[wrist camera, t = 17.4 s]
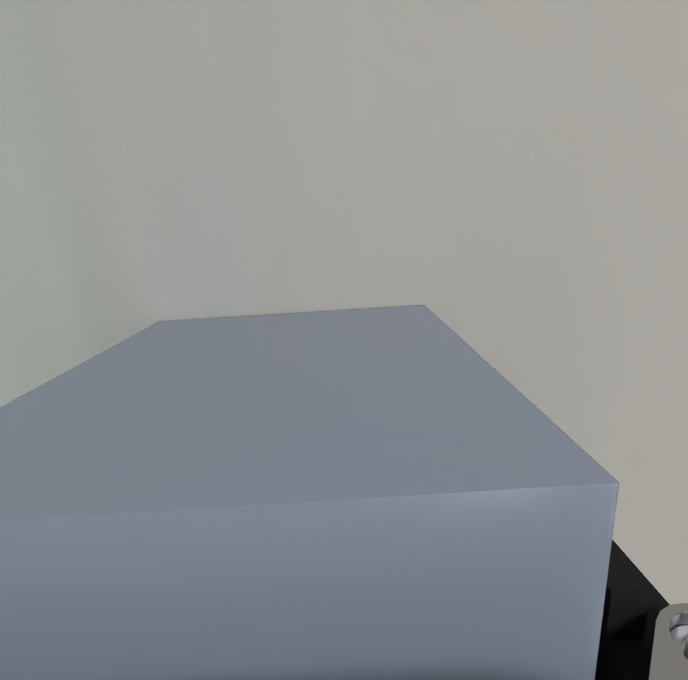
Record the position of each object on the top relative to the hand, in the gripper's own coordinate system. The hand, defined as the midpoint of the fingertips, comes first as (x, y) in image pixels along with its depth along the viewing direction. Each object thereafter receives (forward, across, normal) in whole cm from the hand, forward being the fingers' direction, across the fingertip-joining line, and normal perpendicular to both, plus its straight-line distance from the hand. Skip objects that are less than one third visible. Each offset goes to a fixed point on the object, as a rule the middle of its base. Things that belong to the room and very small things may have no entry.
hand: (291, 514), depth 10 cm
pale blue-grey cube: (+4, 0, 0) cm, 4 cm away
